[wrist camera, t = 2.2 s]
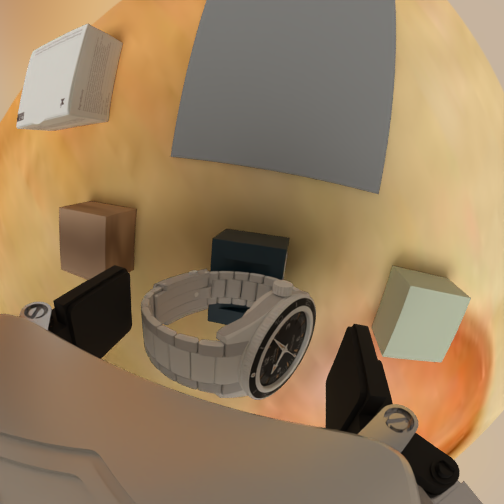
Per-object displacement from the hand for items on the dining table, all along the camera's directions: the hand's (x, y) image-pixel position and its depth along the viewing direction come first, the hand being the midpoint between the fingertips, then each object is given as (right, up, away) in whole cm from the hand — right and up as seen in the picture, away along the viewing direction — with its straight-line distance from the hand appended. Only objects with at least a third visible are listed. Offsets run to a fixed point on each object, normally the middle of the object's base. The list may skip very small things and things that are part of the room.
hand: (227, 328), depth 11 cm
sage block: (+13, -1, +8) cm, 15 cm away
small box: (-14, +18, +8) cm, 24 cm away
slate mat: (+4, +16, +5) cm, 17 cm away
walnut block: (-11, +5, +11) cm, 16 cm away
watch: (+1, +2, +9) cm, 9 cm away
